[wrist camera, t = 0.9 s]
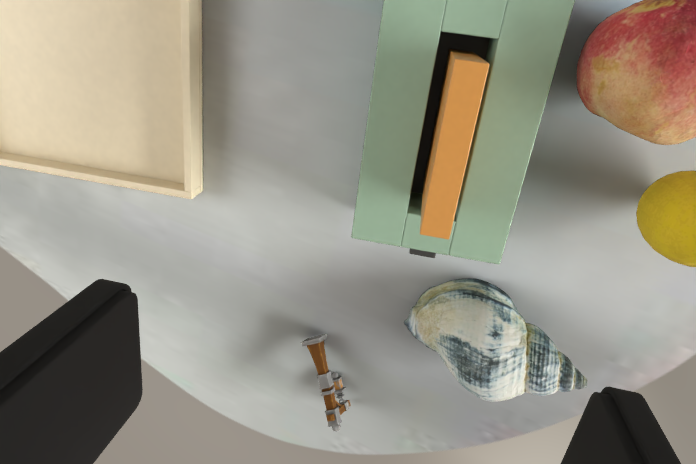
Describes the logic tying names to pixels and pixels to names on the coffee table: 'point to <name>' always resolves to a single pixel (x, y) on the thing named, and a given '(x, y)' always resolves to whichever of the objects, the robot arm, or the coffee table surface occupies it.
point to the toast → (451, 140)
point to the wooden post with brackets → (327, 382)
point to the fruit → (644, 70)
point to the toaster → (421, 108)
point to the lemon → (670, 217)
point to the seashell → (489, 342)
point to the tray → (104, 91)
